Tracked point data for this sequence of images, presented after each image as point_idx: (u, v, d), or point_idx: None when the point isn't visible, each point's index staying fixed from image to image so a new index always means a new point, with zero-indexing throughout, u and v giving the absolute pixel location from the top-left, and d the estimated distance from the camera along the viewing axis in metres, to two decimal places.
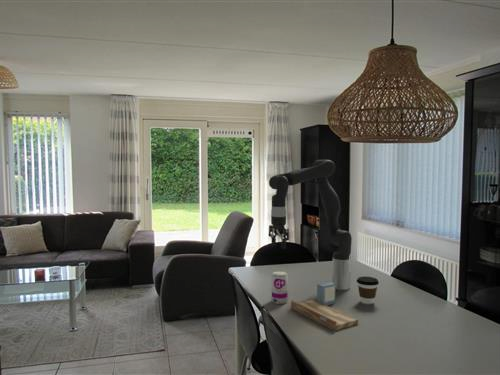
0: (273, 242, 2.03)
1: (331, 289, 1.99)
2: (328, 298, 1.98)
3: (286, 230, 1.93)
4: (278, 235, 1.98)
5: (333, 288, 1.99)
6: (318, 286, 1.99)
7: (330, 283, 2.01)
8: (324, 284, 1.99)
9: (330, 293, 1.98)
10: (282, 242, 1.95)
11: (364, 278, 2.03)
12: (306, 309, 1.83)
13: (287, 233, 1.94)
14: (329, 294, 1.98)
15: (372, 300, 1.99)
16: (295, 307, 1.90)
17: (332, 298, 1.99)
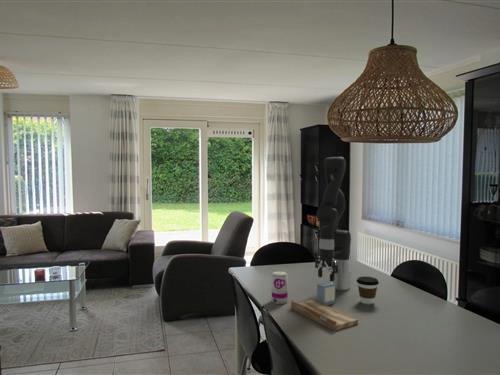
0: (320, 274, 2.03)
1: (331, 289, 1.99)
2: (328, 298, 1.98)
3: (335, 263, 1.94)
4: (326, 267, 1.98)
5: (333, 288, 1.99)
6: (318, 286, 1.99)
7: (330, 283, 2.01)
8: (324, 284, 1.99)
9: (330, 293, 1.98)
10: (331, 275, 1.95)
11: (364, 278, 2.03)
12: (306, 309, 1.83)
13: (336, 266, 1.94)
14: (329, 294, 1.98)
15: (372, 300, 1.99)
16: (295, 307, 1.90)
17: (332, 298, 1.99)
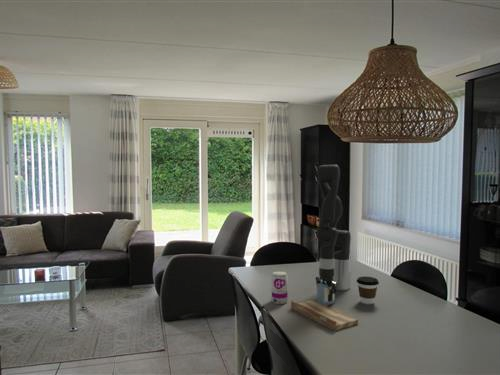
0: None
1: None
2: None
3: (335, 285, 1.94)
4: None
5: None
6: (318, 286, 1.99)
7: None
8: (324, 284, 1.99)
9: None
10: (329, 295, 1.97)
11: (364, 278, 2.03)
12: (306, 309, 1.83)
13: (335, 287, 1.95)
14: None
15: (372, 300, 1.99)
16: (295, 307, 1.90)
17: None
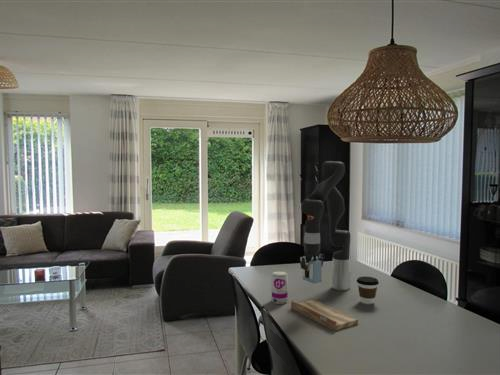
0: None
1: None
2: None
3: (300, 259, 1.84)
4: None
5: (311, 266, 1.84)
6: None
7: (314, 261, 1.85)
8: None
9: None
10: None
11: (364, 278, 2.03)
12: (306, 309, 1.83)
13: (302, 262, 1.84)
14: None
15: (372, 300, 1.99)
16: (295, 307, 1.90)
17: (310, 276, 1.85)
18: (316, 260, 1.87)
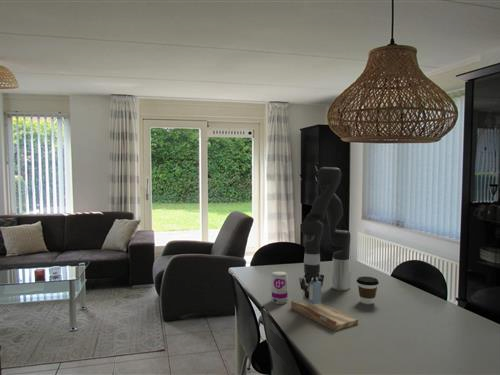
0: None
1: None
2: None
3: (300, 280, 1.85)
4: None
5: (311, 287, 1.85)
6: None
7: (314, 282, 1.86)
8: None
9: None
10: None
11: (364, 278, 2.03)
12: (306, 309, 1.83)
13: (302, 283, 1.85)
14: None
15: (372, 300, 1.99)
16: (295, 307, 1.90)
17: (310, 297, 1.86)
18: None
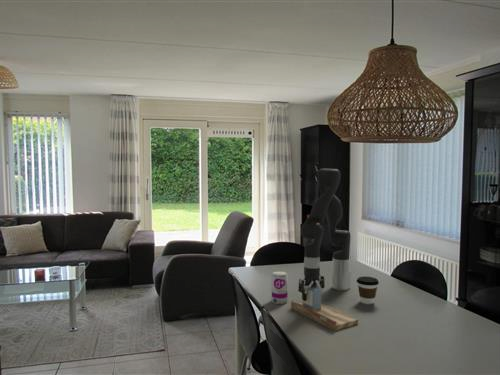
0: None
1: (308, 293, 1.86)
2: None
3: (300, 281, 1.85)
4: None
5: (310, 293, 1.85)
6: None
7: (314, 288, 1.86)
8: None
9: (308, 296, 1.87)
10: None
11: (364, 278, 2.03)
12: (306, 309, 1.83)
13: (300, 285, 1.84)
14: (307, 297, 1.88)
15: (372, 300, 1.99)
16: (295, 307, 1.90)
17: (309, 303, 1.86)
18: (316, 284, 1.88)
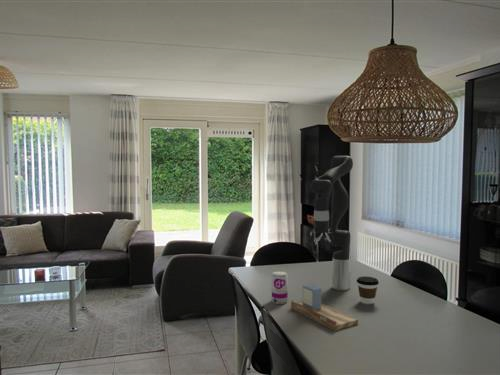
0: (326, 245, 2.03)
1: (308, 293, 1.86)
2: (306, 300, 1.88)
3: (310, 233, 1.97)
4: None
5: (310, 293, 1.85)
6: None
7: (314, 288, 1.86)
8: (309, 286, 1.90)
9: (308, 296, 1.87)
10: None
11: (364, 278, 2.03)
12: (306, 309, 1.83)
13: (311, 237, 1.96)
14: (307, 297, 1.88)
15: (372, 300, 1.99)
16: (295, 307, 1.90)
17: (309, 303, 1.86)
18: (326, 236, 2.00)
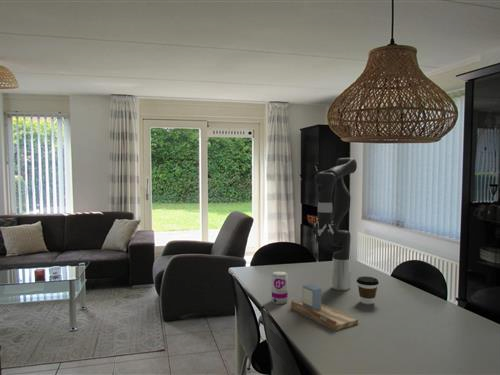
0: (329, 237, 2.08)
1: (308, 293, 1.86)
2: (306, 300, 1.88)
3: (314, 224, 2.02)
4: None
5: (310, 293, 1.85)
6: None
7: (314, 288, 1.86)
8: (309, 286, 1.90)
9: (308, 296, 1.87)
10: None
11: (364, 278, 2.03)
12: (306, 309, 1.83)
13: (315, 227, 2.02)
14: (307, 297, 1.88)
15: (372, 300, 1.99)
16: (295, 307, 1.90)
17: (309, 303, 1.86)
18: (329, 227, 2.05)
